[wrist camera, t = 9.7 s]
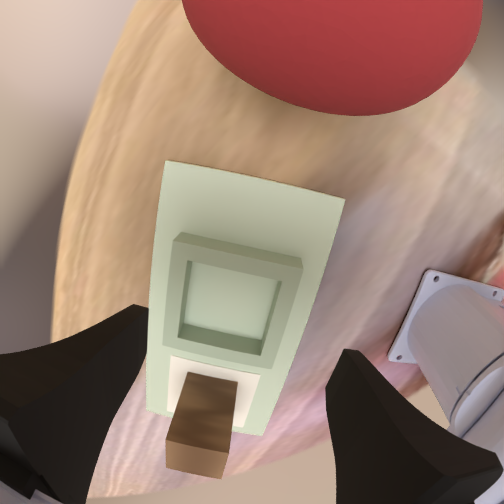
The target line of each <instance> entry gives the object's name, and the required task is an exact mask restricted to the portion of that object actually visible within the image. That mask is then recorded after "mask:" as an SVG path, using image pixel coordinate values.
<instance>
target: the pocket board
mask: <svg viewBox="0 0 504 504" xmlns="http://www.w3.org/2000/svg"><path fill="white" fill-rule="evenodd" d="M344 203H345V199H344V198H341V197H337V196H333V195H330V194H326V193H322V192H318V191H314V190H310V189H306V188H302V187H298V186H294V185H290V184H286V183H281V182H277V181H273V180H268V179H264V178H259V177H255V176H250V175H246V174H241V173H236V172H231V171H226V170H221V169H216V168H211V167H206V166H200V165H195V164H189V163H184V162H178V161H172V160H165V166H164V172H163V178H162V184H161V191H160V198H159V205H158V213H157V220H156V229H155V237H154V247H153V256H152V267H151V279H150V292H149V307H148V308H149V319H148V341H147V355H146V411H150V412H153V413H156V414H160V415H163V416H167V417H171V418H173V415H174V412H175V409H176V406H177V403H178V400H179V397H180V394H181V390H182V387H183V384H184V381H185V378H186V375H187V372H192V373H197V374H201V375H206V376H211V377H216V378H221V379H226V380H231V381H236V382H238V386H237V394H236V402H235V410H234V418H233V425H232V431H234V432H239V433H245V434H252V435H258V436H262V435H263V433H264V431H265V428H266V426H267V424H268V421H269V419H270V417H271V414H272V412H273V409H274V407H275V405H276V402H277V400H278V397H279V395H280V392H281V390H282V387H283V385H284V382H285V380H286V377H287V375H288V372H289V370H290V367H291V364H292V362H293V359H294V356H295V354H296V351H297V348H298V346H299V343H300V340H301V338H302V335H303V332H304V329H305V326H306V324H307V321H308V318H309V315H310V312H311V309H312V306H313V303H314V300H315V298H316V295H317V292H318V289H319V285H320V282H321V279H322V276H323V273H324V270H325V267H326V264H327V261H328V257H329V254H330V251H331V248H332V244H333V241H334V238H335V234H336V231H337V227H338V224H339V220H340V217H341V213H342V210H343V206H344Z"/></svg>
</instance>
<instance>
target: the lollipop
mask: <svg viewBox="0 0 504 504" xmlns="http://www.w3.org/2000/svg"><path fill="white" fill-rule="evenodd" d="M182 3H183V7H184V10H185V13H186V16H187V19H188V21H189V23H190V25H191V27H192V29H193V31H194V32H195V34H196V35H197V37H198V39H199V40H200V41H201V42H202V44H203V45H204V46H205V48H206V49H207V50H208V51H209V52H210V53H211V54H212V55H213V56H214V57H215V58H216V59H217V60H218V61H219V62H220V63H221V64H222V65H223V66H225V67H226V68H227V69H228V70H230V71H231V72H232V73H234V74H235V75H236V76H238V77H239V78H241V79H242V80H244V81H245V82H247V83H249V84H250V85H252V86H254V87H255V88H257V89H259V90H261V91H263V92H265V93H267V94H269V95H271V96H273V97H276V98H278V99H280V100H283V101H285V102H288V103H291V104H293V105H296V106H300V107H304V108H307V109H311V110H315V111H319V112H324V113H330V114H337V115H349V116H369V115H379V114H385V113H390V112H394V111H397V110H401V109H404V108H406V107H409V106H411V105H414V104H416V103H418V102H419V101H421V100H423V99H425V98H427V97H428V96H430V95H431V94H433V93H434V92H436V91H437V90H438V89H439V88H441V87H442V86H443V85H444V84H445V83H447V82H448V81H449V80H450V79H451V78H452V77H453V76H454V74H455V73H456V72H457V71H458V70H459V68H460V67H461V66H462V65H463V63H464V61H465V60H466V58H467V57H468V55H469V53H470V52H471V50H472V48H473V45H474V43H475V41H476V38H477V35H478V32H479V28H480V24H481V18H482V9H483V0H182Z"/></svg>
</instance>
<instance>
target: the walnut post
mask: <svg viewBox="0 0 504 504" xmlns="http://www.w3.org/2000/svg"><path fill="white" fill-rule="evenodd" d="M237 386H238V382H236V381H231V380H226V379H221V378H216V377H211V376H206V375H201V374H197V373H192V372H187V375H186V378H185V381H184V384H183V387H182V390H181V394H180V397H179V400H178V403H177V406H176V409H175V412H174V415H173V418H172V421H171V424H170V428H169V431H168V434H167V437H166V468H170V469H174V470H178V471H182V472H187V473H191V474H196V475H201V476H206V477H211V478H217V479H221V478H222V475H223V471H224V468H225V465H226V461H227V458H228V455H229V448H230V441H231V433H232V425H233V418H234V410H235V402H236V394H237Z"/></svg>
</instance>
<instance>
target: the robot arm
mask: <svg viewBox="0 0 504 504" xmlns="http://www.w3.org/2000/svg"><path fill="white" fill-rule="evenodd" d="M435 276H437V278H436V279H435V280H434V277H435ZM493 292H494V293H493ZM503 297H504V290H503V289H502V288H499V287H495V286H491V285H488V284H484V283H480V282H477V281H473V280H469V279H466V278H462V277H458V276H455V275H451V274H447V273H443V272H439V271H436V270H432V269H429V270H427V271H426V272H425V274H424V276H423V278H422V281H421V283H420V286H419V288H418V291H417V293H416V295H415V298H414V300H413V302H412V305H411V307H410V309H409V311H408V314H407V316H406V318H405V320H404V322H403V324H402V327H401V329H400V331H399V333H398V335H397V337H396V339H395V341H394V343H393V345H392V347H391V349H390V351H389V353H388V355H387V357H388V359H389V361H391V362H401V363H412V364H418V365H419V367H420V369H421V371H422V372H423V374H424V376H425V378H426V380H427V381H428V383H429V385H430V387H431V389H432V391H433V392H434V394H435V396H436V398H437V400H438V402H439V404H440V405H441V407H442V409H443V411H444V413H445V415H446V417H447V419H448V421H449V423H450V426H449V427H448V429H447V430H446V429H444V428H442V427H441V426H439V425H438V424H436V423H435V422H433V421H432V420H431V419H429V418H428V417H427V416H425V415H424V414H423V413H421V412H420V411H419V410H418V409H416V408H415V407H414V406H413V405H412V404H411V403H409V402H408V401H407V400H406V399H405V398H404V397H403V396H402V395H401V394H400V393H399V392H398V391H397V390H396V389H395V388H394V387H393V386H392V385H391V384H390V383H389V382H388V381H387V380H386V379H385V378H384V376H383V375H382V374H381V373H380V372H379V371H378V370H377V369H376V368H375V367H374V366H373V365H372V363H371V362H370V361H369V360H368V359H367V358H366V357H365V356H364V355H363V354H362V353H361V352H360V351H358V350H351V349H344V350H343V352H342V354H341V356H340V358H339V361H338V363H337V365H336V367H335V369H334V371H333V373H332V375H331V377H330V379H329V381H328V383H327V385H326V387H325V390H326V411H327V417H328V423H329V429H330V434H331V439H332V445H333V450H334V456H335V464H336V486H337V487H336V504H504V304H503V303H502V300H503ZM148 319H149V308H146V307H142V306H139V305H135V304H133V305H131V306H129V307H127V308H125V309H123V310H122V311H120V312H118V313H116V314H114V315H113V316H111V317H109V318H107V319H105V320H103V321H102V322H100V323H98V324H96V325H94V326H92V327H90V328H88V329H86V330H83V331H81V332H79V333H77V334H75V335H73V336H70V337H68V338H65V339H63V340H60V341H57V342H54V343H51V344H48V345H45V346H41V347H37V348H33V349H29V350H25V351H21V352H14V353H8V354H0V504H85V503H86V499H87V495H88V491H89V487H90V483H91V480H92V476H93V473H94V469H95V466H96V463H97V460H98V457H99V454H100V451H101V448H102V446H103V443H104V440H105V438H106V435H107V432H108V430H109V427H110V425H111V423H112V421H113V419H114V417H115V415H116V413H117V411H118V409H119V408H120V406H121V404H122V402H123V400H124V399H125V397H126V395H127V393H128V391H129V390H130V388H131V386H132V384H133V383H134V381H135V379H136V377H137V375H138V374H139V371H140V369H141V366H142V364H143V361H144V359H145V356H146V354H147V341H148ZM399 355H400V356H399ZM397 356H399V357H397Z"/></svg>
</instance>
